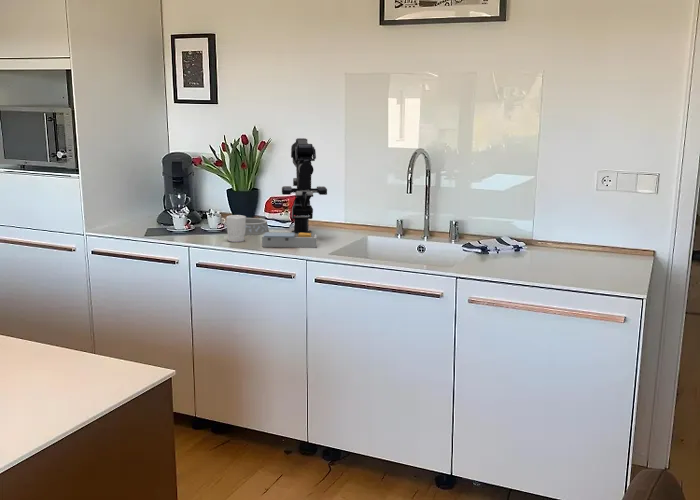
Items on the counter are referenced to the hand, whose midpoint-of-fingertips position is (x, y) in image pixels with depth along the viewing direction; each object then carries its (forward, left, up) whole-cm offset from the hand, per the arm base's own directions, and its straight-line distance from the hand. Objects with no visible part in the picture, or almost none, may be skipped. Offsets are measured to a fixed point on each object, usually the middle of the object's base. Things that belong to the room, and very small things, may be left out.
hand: (304, 210), depth 304 cm
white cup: (+21, -19, -12) cm, 31 cm away
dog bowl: (+3, -28, -12) cm, 31 cm away
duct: (+16, +4, -12) cm, 20 cm away
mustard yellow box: (+5, +4, -12) cm, 14 cm away
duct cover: (+19, +2, -8) cm, 20 cm away
